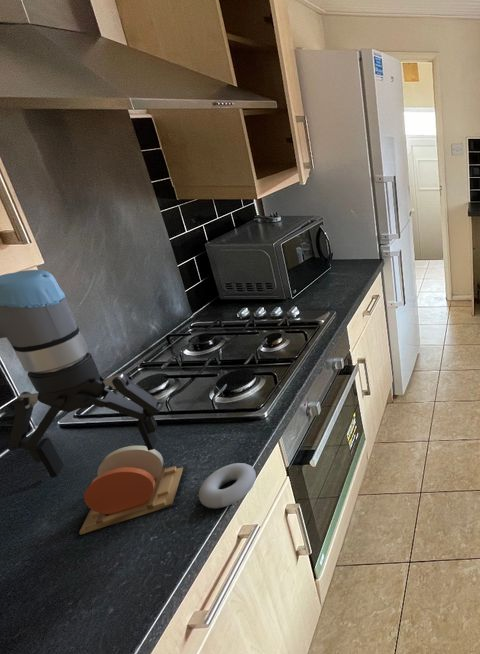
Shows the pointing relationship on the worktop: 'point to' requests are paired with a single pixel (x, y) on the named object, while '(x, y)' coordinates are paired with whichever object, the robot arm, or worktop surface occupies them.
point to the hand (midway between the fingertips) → (107, 457)
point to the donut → (224, 497)
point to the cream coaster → (133, 460)
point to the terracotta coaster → (119, 490)
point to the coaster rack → (159, 500)
